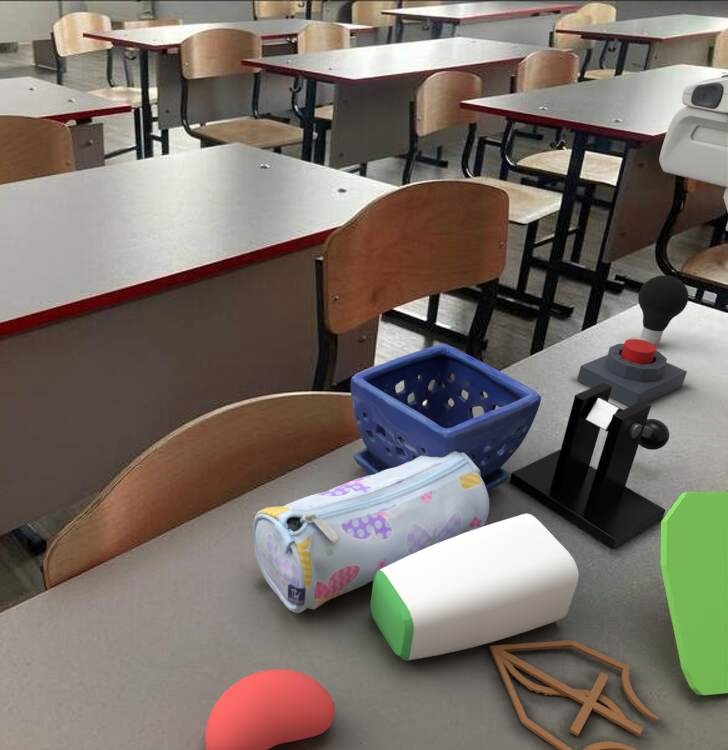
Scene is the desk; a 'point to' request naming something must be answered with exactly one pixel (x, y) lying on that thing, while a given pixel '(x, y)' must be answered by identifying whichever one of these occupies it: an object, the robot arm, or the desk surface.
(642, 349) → the button
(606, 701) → the emblem
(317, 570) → the pencil case
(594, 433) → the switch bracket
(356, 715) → the desk surface
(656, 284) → the light bulb
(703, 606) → the green stand with toy
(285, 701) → the stress ball
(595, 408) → the switch lever
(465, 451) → the flower pot
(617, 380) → the control box
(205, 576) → the desk surface
